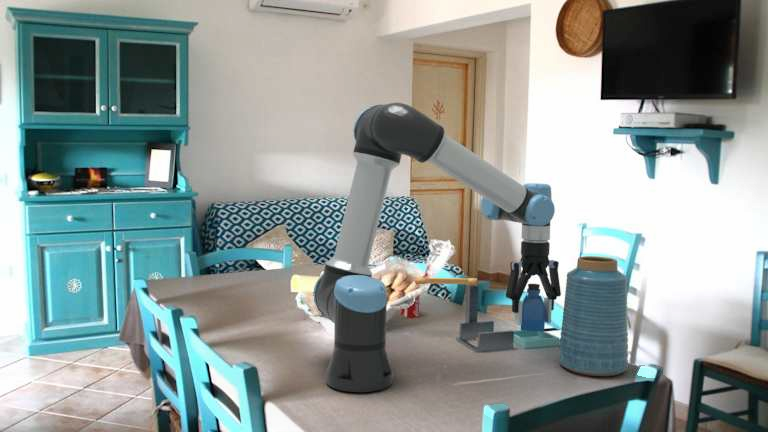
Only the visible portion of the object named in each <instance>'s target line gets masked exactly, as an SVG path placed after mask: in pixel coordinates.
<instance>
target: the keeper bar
mask: <svg viewBox="0 0 768 432" xmlns="http://www.w3.org/2000/svg"><path fill="white" fill-rule="evenodd" d="M414 280H415V283H416V284H420V285H426V284H427V285H429V284H430V283H431V284H435V285H477V286H478V278H476V277H468V278H463V277H461V278H460V277H459V278H456V277H453V278H452V277H425V278H424V276H418V277H417V276H416V277H415V279H414ZM431 284H430V285H431Z"/></svg>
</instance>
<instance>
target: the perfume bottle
mask: <svg viewBox="0 0 768 432" xmlns="http://www.w3.org/2000/svg"><path fill="white" fill-rule="evenodd" d="M540 285H541V284H539V283H527V286H528V288H526V290H527V292H526V293H527V294H525V296H524V298H523V300H521V301H522V325H521V326H520V330H525V331H540V332H544V331H545V324H546V322H545V304H544V299H543V298H542V295H540V294H541V289H540Z"/></svg>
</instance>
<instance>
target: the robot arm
mask: <svg viewBox="0 0 768 432" xmlns="http://www.w3.org/2000/svg"><path fill="white" fill-rule="evenodd" d="M353 138H354V140H355V144H354V149H353V151H352V152H353V153H352V154H353V157H354V158H355V160H356V164H355V165H356V167H355V170H354V174H353V179H352V183H351V186H350V190H349V193H348V194H349V195H348V197H347V203H346V207H345V210H344V215H343V218H342V223H341V226H340V231H339V235H338V239H337V244H336V247H335V251H334V255H333V257H332V258H331V259H329V260H328V261H326V263H325V266H324V269H323V273H322V275H321V276H320V277H319V278H318V279H317V281H316V283H315V284H314V286H313V287H314V292H313V296H314V302H315V304H316V306H317V308H318V310H319V311H320V312H321V314H322V315H323V316H322V317H324V318H326V319H328V320H329V321H331V322H332V323H333V324H334V335H333V337H334V338H333V339H334V344H333V345H334V346H333V347H334V349H333V350H332V353H331V357H330V360H329V362H328V365H327V369H326V372H325V378H326V379H325V382H326V384H327V385H328V386H329V387H331V388H333V389H336V390H338V391H339V390H340V391H343V392H348V393H349V392H351V393H367V392H368V393H370V392H377V391H381V390H384V389H387V388H389V387H390V386H392V384H393V382H394V381H393V380H394V373H393V369H392V366H391V363H390V359H389V355H388V353H387V350H386V349H387V348H386V346H387V344H386V343H387V341H386V340H387V339H386V337H387V303H388V295H387V286H386V285H385V283H384V282H383V281H382V280H380V279H378V278H377V277H374V276H373V273H372V270H371V269H370V267H369V262H370V259H371V255H372V250H373V246H374V243H375V238H376V234H377V230H378V227H379V222H380V219H381V215H382V210H383V206H384V202H385V197H386V194H387V190H388V186H389V181H390V177H391V173H392V171H393V170H395V169H396V168H397V167H399V166H400V163H401V159H402V155H404V156H408V157H409V158H411V159H414V160H416V161H417V162H418V163H420V164H426V163H429V164H431V165H432V166H433V167H435V168H436V169H438V170H439V171H441V172H443V173H444V174H446V175H447V176H450V177H451V178H452V179H454V180H456V181H457V182H459V183H460V184H462V185H464V186H465V187H467V188H469V189H470V190H472V191H473V192H475V193H477V194H478V195H480V196H481V197H482V198H481V201H480V211H481V214H482V216H483V217H484V218H485V219H486V220H490V221H508V222H513V223H519V224H521V239H522V241H521V242H520V254H521V257H520V259H519V261H510V263H509V264H510V266H509V267H510V273H509V277H508V283H507V287H506V292H505V298H507V299H510V300H511V302H512V303H511V311H512V312H513V315H514V317H513V324H514V325H517V326H520V327H521V325H522V301H523V300H521V298H522V296H523V294H524V291H525V289H526V286H528V282H529V280H530V279H531V278H532V277H533V276H536V275H537V277H539V279H540V282H541V285H542V288H543V290H544V292H545V295H546V297H543V302H544V304H545V323H547V324H552V311H554V309H555V300H557V299H558V297H561V296H562V291H561V285H560V284H561V283H560V277H559V270H558V269H559V261H557V260H553V259H551V260H550V258H549V255H550V242H549V240H550V239H551V221H552V220H553V218H554V216H555V211H556V210H555V203H554V202H553V198H552V187H551V186H550V184H548V183H538V182H537V183H536V182H535V183H533V182H529V183H528V182H527V183H524V184H521V183H520V182H518V181H517V180H515V179H514V178H512V177H511V176H509V175H508V174H506V173H504V172H503V171H502V170H501V169H498V168H497V167H496V166H494V165H493V164H491V163H489V162H488V161H487V160H485V159H484V158H482V157H480V156H479V155H477V154H476V153H474V152H473V151H471V150H470V149H469V148H468V147H465V146H464V145H462V144H461V143H459V142H458V141H456V140H454V139H453V138H452V137H450V136H449V135H447V133H446V129H445V128H444V127H443V126H442V125H440V124H439V123H437V122H436V121H434V120H433V119H432V118H430V117H429V116H427V115H426V114H425V113H422V112H421V111H419V110H417V109H416V108H415V107H413V106H411V105H409V104H406V103H402V102H390V103H386V104H382V103H381V104H374V105H372V106H369V107H367V108H366V109H365V110H363V111H362V112H360V113H359V115H358V116H357V118H356V119H355V121H354V125H353ZM521 268H522V270H521ZM547 268H548V272H549V274H548V272H547ZM520 270H521V273H520ZM519 275H520V277H519Z"/></svg>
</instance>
